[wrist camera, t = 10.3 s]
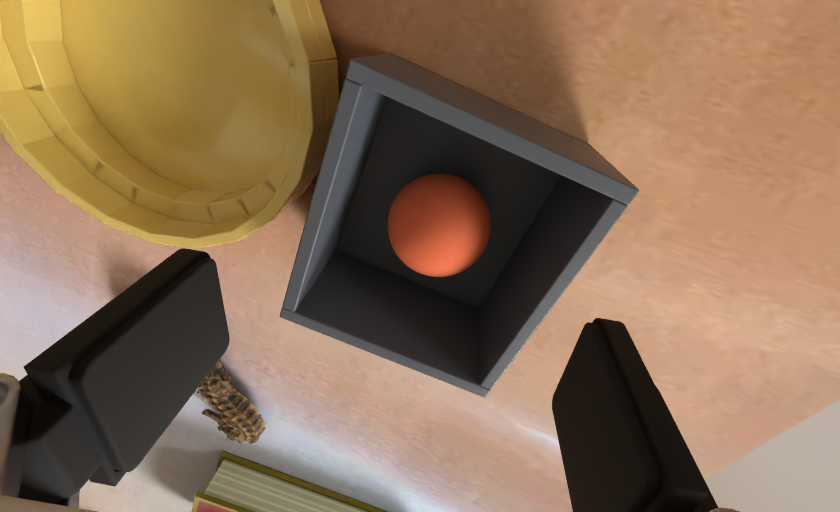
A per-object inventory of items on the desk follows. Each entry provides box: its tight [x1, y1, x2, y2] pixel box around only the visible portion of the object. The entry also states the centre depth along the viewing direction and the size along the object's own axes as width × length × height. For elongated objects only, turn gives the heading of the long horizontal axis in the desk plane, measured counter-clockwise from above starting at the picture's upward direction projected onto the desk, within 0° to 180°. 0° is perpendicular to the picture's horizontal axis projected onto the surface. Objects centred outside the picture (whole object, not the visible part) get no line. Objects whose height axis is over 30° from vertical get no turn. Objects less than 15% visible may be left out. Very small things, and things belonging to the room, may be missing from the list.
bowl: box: [0, 0, 339, 249], centre depth 17 cm, size 15×15×4 cm
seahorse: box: [197, 360, 265, 444], centre depth 29 cm, size 6×15×2 cm, turn 22°
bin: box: [280, 53, 639, 397], centre depth 18 cm, size 11×10×6 cm
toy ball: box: [388, 173, 491, 277], centre depth 18 cm, size 5×5×5 cm
